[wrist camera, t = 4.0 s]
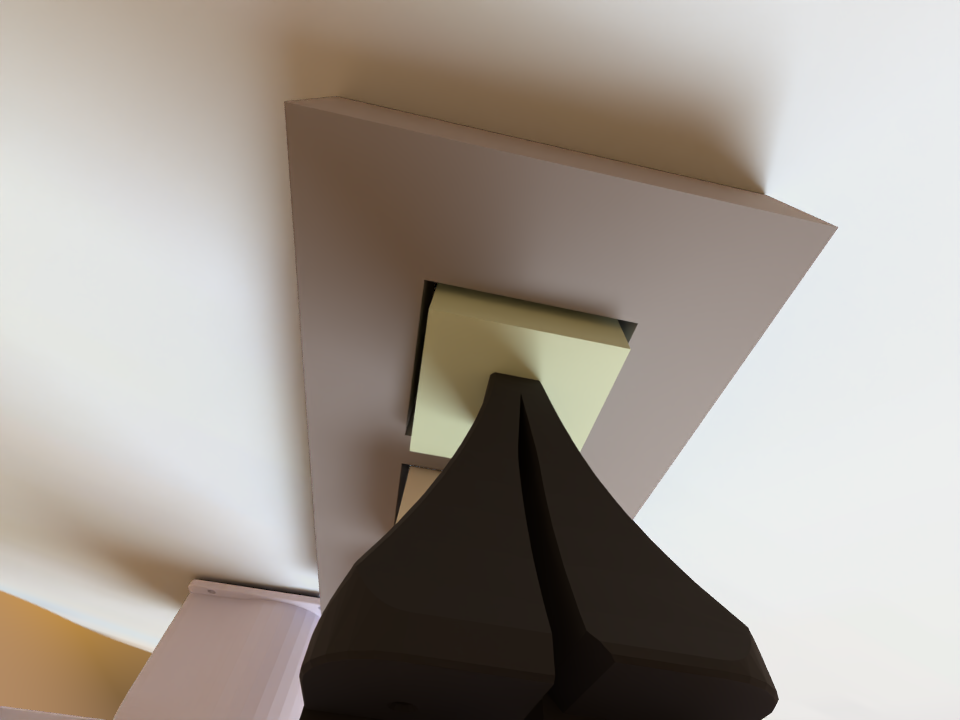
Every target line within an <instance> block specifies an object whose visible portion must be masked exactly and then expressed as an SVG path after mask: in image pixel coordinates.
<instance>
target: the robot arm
mask: <svg viewBox="0 0 960 720" xmlns="http://www.w3.org/2000/svg"><path fill="white" fill-rule="evenodd" d="M188 589H189V591H190V593H189V595H188V596H187V598H186V600H185V601H184V603H183V604H182V606H181V608H180V609H179V611H178V613H177V614H176V616H175V617H174V619H173V621H172V622H171V624H170V625H169V627H168V629H167V630H166V632H165V633H164V635H163V637H162V638H161V640H160V642H159V643H158V645H157V646H156V648H155V650H154V651H153V653H152V654H151V656H150V658H149V659H148V661H147V663H146V664H145V666H144V667H143V669H142V671H141V672H140V674H139V675H138V677H137V679H136V680H135V682H134V683H133V685H132V687H131V688H130V690H129V692H128V693H127V695H126V696H125V698H124V700H123V702H122V703H121V705H120V707H119V709H118V711H117V713H116V715H115V717H114V719H113V720H762V719H763V718H764V717H766V716H767V715H769V714H770V713H772V711H773V709H774V708H775V706H776V704H777V702H778V700H779V699H778V695H777V691H776V689H775V686H774V684H773V682H772V679H771V677H770V675H769V672H768V670H767V668H766V665H765V663H764V661H763V658H762V656H761V654H760V652H759V649H758V647H757V645H756V643H755V641H754V638H753V636H752V635H751V633H750V631H749V628H748V627H747V626H746V625H745V624H743V623H742V622H741V621H740V620H739V619H737V618H736V617H735V616H734V615H733V614H732V613H730V612H729V611H728V610H727V609H726V608H725V607H723V606H722V605H721V604H720V603H719V602H717V601H716V600H715V599H714V598H713V597H712V596H710V595H709V594H708V593H707V592H706V591H705V590H703V589H702V588H701V587H700V586H699V585H698V584H696V583H695V582H694V581H693V580H692V579H691V578H690V577H689V576H688V575H687V574H686V573H685V572H684V571H682V570H681V569H680V568H679V567H678V566H677V565H676V564H675V563H674V562H673V561H672V560H671V559H670V558H669V557H668V556H667V555H666V554H665V553H664V552H663V551H662V550H661V549H660V548H659V547H658V546H657V545H656V544H655V543H654V542H653V541H652V540H651V539H650V538H649V537H648V536H647V535H646V534H645V533H644V532H643V531H642V530H641V529H640V527H639V526H638V525H637V524H636V523H635V522H634V521H633V520H632V519H631V518H630V517H629V516H628V514H627V513H626V512H625V511H624V510H623V509H622V507H621V506H620V505H619V504H618V503H617V502H616V500H615V499H614V498H613V497H612V495H611V494H610V493H609V492H608V490H607V489H606V488H605V487H604V485H603V484H602V483H601V482H600V480H599V479H598V478H597V476H596V475H595V474H594V472H593V471H592V469H591V468H590V466H589V465H588V463H587V462H586V460H585V459H584V458H583V456H582V455H581V453H580V451H579V450H578V448H577V447H576V445H575V444H574V442H573V440H572V439H571V437H570V435H569V434H568V432H567V430H566V428H565V427H564V425H563V423H562V422H561V420H560V418H559V416H558V414H557V413H556V411H555V409H554V407H553V405H552V403H551V401H550V399H549V397H548V395H547V393H546V391H545V390H544V388H543V386H542V384H541V382H540V381H539V380H534V379H528V378H523V377H518V376H513V375H507V374H502V373H497V372H494V373H493V374H491V375H490V377H489V381H488V385H487V389H486V392H485V396H484V400H483V404H482V406H481V408H480V410H479V413H478V415H477V417H476V419H475V421H474V423H473V425H472V426H471V428H470V430H469V431H468V433H467V435H466V436H465V438H464V440H463V441H462V443H461V445H460V446H459V448H458V449H457V451H456V452H455V454H454V455H453V457H452V458H451V459H450V461H449V462H448V464H447V465H446V466H445V468H444V469H443V470H442V472H441V473H440V474H439V476H438V477H437V478H436V479H435V481H434V482H433V483H432V484H431V486H430V487H429V488H428V489H427V490H426V492H425V493H424V494H423V495H422V496H421V497H420V499H419V500H418V501H417V502H416V503H415V504H414V505H413V506H412V507H411V508H410V509H409V510H408V511H407V513H406V514H405V515H404V516H403V517H402V518H401V519H400V520H399V521H398V522H397V523H396V524H395V525H394V526H393V527H392V528H391V529H390V530H389V531H388V532H387V533H386V534H385V535H384V536H383V537H382V538H381V539H380V540H379V541H378V542H377V543H375V544H374V545H373V546H372V547H371V548H370V549H369V550H368V551H367V552H366V553H365V554H364V555H363V556H361V557H360V558H359V559H358V560H357V561H356V562H355V563H354V565H353V566H352V568H351V569H350V571H349V572H348V574H347V575H346V577H345V578H344V580H343V581H342V583H341V584H340V585H339V587H338V588H337V590H336V592H335V593H334V595H333V596H332V598H331V599H330V601H329V603H328V604H327V606H326V608H325V610H324V611H323V613H322V615H321V607H320V598H316V597H309V596H303V595H296V594H289V593H283V592H276V591H270V590H263V589H257V588H250V587H244V586H237V585H230V584H224V583H217V582H211V581H204V580H197V579H195V580H192V581H191V582H190V584H189V585H188ZM0 720H103V719H94V718H87V717H79V716H72V715H64V714H57V713H49V712H41V711H33V710H25V709H18V708H11V707H2V706H0Z"/></svg>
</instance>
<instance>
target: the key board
mask: <svg viewBox="0 0 960 720" xmlns="http://www.w3.org/2000/svg"><path fill="white" fill-rule="evenodd" d="M284 103H285V117H286V131H287V145H288V159H289V173H290V187H291V201H292V215H293V229H294V243H295V257H296V271H297V285H298V299H299V313H300V327H301V341H302V355H303V369H304V383H305V397H306V411H307V425H308V439H309V453H310V467H311V481H312V495H313V509H314V523H315V537H316V551H317V565H318V579H319V593H320V607H321V615H322V613H323V611H324V610H325V608H326V606H327V604H328V603H329V601H330V599H331V598H332V596H333V595H334V593H335V592H336V590H337V588H338V587H339V585H340V584H341V583H342V581H343V580H344V578H345V577H346V575H347V574H348V572H349V571H350V569H351V568H352V566H353V565H354V563H355V562H356V561H357V560H358V559H359V558H360V557H361V556H363V555H364V554H365V553H366V552H367V551H368V550H369V549H370V548H371V547H372V546H373V545H374V544H375V543H377V542H378V541H379V540H380V539H381V538H382V537H383V536H384V535H385V534H386V533H387V532H388V531H389V530H390V529H391V528H392V527H393V526H394V525H395V524H396V521H397V517H398V513H399V509H400V505H401V501H402V497H403V493H404V489H405V485H406V481H407V477H408V470H409V465H415V466H421V467H426V468H432V469H438V470H443V469H444V468H445V466H446V465H447V464H448V462H449V461H450V459H451V458H447V457H441V456H435V455H430V454H424V453H418V452H413V451H410V443H411V436H412V429H413V422H414V414H415V407H416V400H417V392H418V385H419V378H420V371H421V363H422V356H423V349H424V341H425V334H426V327H427V320H428V312H429V307H430V304H431V302H432V299H433V292H434V285H435V282H438V283H443V284H448V285H453V286H458V287H463V288H467V289H472V290H477V291H482V292H487V293H492V294H497V295H502V296H507V297H511V298H516V299H521V300H526V301H531V302H536V303H541V304H546V305H551V306H556V307H560V308H565V309H570V310H575V311H580V312H585V313H590V314H595V315H600V316H604V317H609V318H614V319H617V320H618V322H619V324H620V326H621V329H622V331H623V333H624V335H625V338H626V340H627V342H628V344H629V346H630V349H631V350H630V352H629V354H628V356H627V358H626V360H625V362H624V364H623V366H622V368H621V370H620V372H619V374H618V376H617V378H616V380H615V382H614V384H613V386H612V388H611V390H610V392H609V395H608V397H607V399H606V401H605V403H604V405H603V407H602V409H601V411H600V413H599V415H598V417H597V419H596V421H595V423H594V425H593V427H592V429H591V431H590V433H589V435H588V437H587V439H586V441H585V443H584V445H583V447H582V449H581V451H580V453H581V455H582V456H583V458H584V459H585V460H586V462H587V463H588V465H589V466H590V468H591V469H592V471H593V472H594V474H595V475H596V476H597V478H598V479H599V480H600V482H601V483H602V484H603V485H604V487H605V488H606V489H607V490H608V492H609V493H610V494H611V495H612V497H613V498H614V499H615V500H616V502H617V503H618V504H619V505H620V506H621V507H622V509H623V510H624V511H625V512H626V513H627V514H628V516H629V517H630V518H631V519H632V520H633V519H634V517H635V516H636V514H637V513H638V512H639V510H640V509H641V507H642V506H643V504H644V503H645V502H646V500H647V499H648V497H649V496H650V494H651V493H652V492H653V490H654V489H655V487H656V486H657V484H658V483H659V482H660V480H661V479H662V477H663V476H664V475H665V473H666V472H667V470H668V469H669V467H670V466H671V465H672V463H673V462H674V460H675V459H676V457H677V456H678V455H679V453H680V452H681V450H682V449H683V447H684V446H685V445H686V443H687V442H688V440H689V439H690V438H691V436H692V435H693V433H694V432H695V430H696V429H697V428H698V426H699V425H700V423H701V422H702V420H703V419H704V418H705V416H706V415H707V413H708V412H709V411H710V409H711V408H712V406H713V405H714V403H715V402H716V401H717V399H718V398H719V396H720V395H721V393H722V392H723V391H724V389H725V388H726V386H727V385H728V383H729V382H730V381H731V379H732V378H733V376H734V375H735V374H736V372H737V371H738V369H739V368H740V366H741V365H742V364H743V362H744V361H745V359H746V358H747V356H748V355H749V354H750V352H751V351H752V349H753V348H754V346H755V345H756V344H757V342H758V341H759V339H760V338H761V337H762V335H763V334H764V332H765V331H766V329H767V328H768V327H769V325H770V324H771V322H772V321H773V319H774V318H775V317H776V315H777V314H778V312H779V311H780V309H781V308H782V307H783V305H784V304H785V302H786V301H787V300H788V298H789V297H790V295H791V294H792V292H793V291H794V290H795V288H796V287H797V285H798V284H799V282H800V281H801V280H802V278H803V277H804V275H805V274H806V272H807V271H808V270H809V268H810V267H811V265H812V264H813V263H814V261H815V260H816V258H817V257H818V255H819V254H820V253H821V251H822V250H823V248H824V247H825V245H826V244H827V243H828V241H829V240H830V238H831V237H832V236H833V234H834V233H835V231H836V230H837V228H838V227H836V226H834V225H832V224H830V223H827V222H825V221H823V220H821V219H818V218H816V217H814V216H812V215H810V214H807V213H805V212H803V211H801V210H798V209H796V208H794V207H792V206H790V205H787V204H785V203H783V202H781V201H778V200H776V199H774V198H772V197H770V196H767V195H764V194H759V193H755V192H751V191H746V190H742V189H738V188H733V187H729V186H724V185H720V184H716V183H711V182H707V181H703V180H698V179H694V178H690V177H685V176H681V175H677V174H672V173H668V172H664V171H659V170H655V169H650V168H646V167H642V166H637V165H633V164H629V163H624V162H620V161H616V160H611V159H607V158H603V157H598V156H594V155H590V154H585V153H581V152H577V151H572V150H568V149H563V148H559V147H555V146H550V145H546V144H542V143H537V142H533V141H529V140H524V139H520V138H516V137H511V136H507V135H503V134H498V133H494V132H489V131H485V130H481V129H476V128H472V127H468V126H463V125H459V124H455V123H450V122H446V121H442V120H437V119H433V118H429V117H424V116H420V115H415V114H411V113H407V112H402V111H398V110H394V109H389V108H385V107H381V106H376V105H372V104H368V103H363V102H359V101H355V100H350V99H346V98H342V97H337V96H335V97H325V98H315V99H305V100H295V101H285V102H284Z"/></svg>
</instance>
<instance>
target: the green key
mask: <svg viewBox="0 0 960 720" xmlns="http://www.w3.org/2000/svg"><path fill="white" fill-rule="evenodd" d="M630 350H631V349H630V346H629V344H628V342H627V340H626V338H625V335H624V333H623V331H622V329H621V326H620V324H619V322H618V320H617V319H614V318H609V317H604V316H600V315H595V314H590V313H585V312H580V311H575V310H570V309H565V308H560V307H556V306H551V305H546V304H541V303H536V302H531V301H526V300H521V299H516V298H511V297H507V296H502V295H497V294H492V293H487V292H482V291H477V290H472V289H467V288H463V287H458V286H453V285H448V284H443V283H438V284H437V287H436V290H435V293H434V296H433V299H432V302H431V304H430V307H429V312H428V320H427V327H426V334H425V341H424V349H423V356H422V363H421V371H420V378H419V385H418V392H417V400H416V407H415V414H414V422H413V429H412V436H411V443H410V451H413V452H418V453H424V454H430V455H435V456H441V457H447V458H452V457H453V455H454V454H455V452H456V451H457V449H458V448H459V446H460V445H461V443H462V441H463V440H464V438H465V436H466V435H467V433H468V431H469V430H470V428H471V426H472V425H473V423H474V421H475V419H476V417H477V415H478V413H479V410H480V408H481V406H482V404H483V400H484V396H485V392H486V389H487V385H488V381H489V377H490V375H491V374H493V373H494V372H497V373H502V374H507V375H513V376H518V377H523V378H528V379H534V380H539V381H540V382H541V384H542V386H543V388H544V390H545V391H546V393H547V395H548V397H549V399H550V401H551V403H552V405H553V407H554V409H555V411H556V413H557V414H558V416H559V418H560V420H561V422H562V423H563V425H564V427H565V428H566V430H567V432H568V434H569V435H570V437H571V439H572V440H573V442H574V444H575V445H576V447H577V448H578V450H579V451H581V449H582V447H583V445H584V443H585V441H586V439H587V437H588V435H589V433H590V431H591V429H592V427H593V425H594V423H595V421H596V419H597V417H598V415H599V413H600V411H601V409H602V407H603V405H604V403H605V401H606V399H607V397H608V395H609V392H610V390H611V388H612V386H613V384H614V382H615V380H616V378H617V376H618V374H619V372H620V370H621V368H622V366H623V364H624V362H625V360H626V358H627V356H628V354H629V352H630Z"/></svg>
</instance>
